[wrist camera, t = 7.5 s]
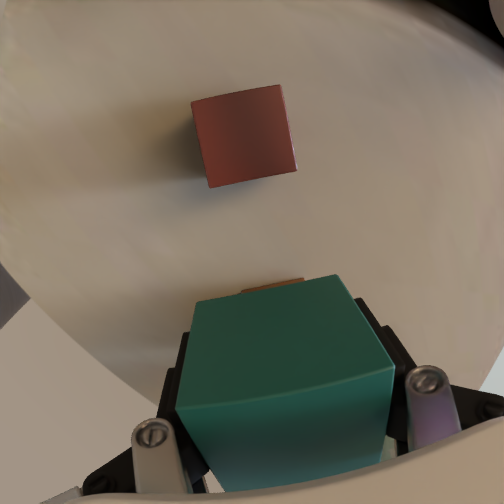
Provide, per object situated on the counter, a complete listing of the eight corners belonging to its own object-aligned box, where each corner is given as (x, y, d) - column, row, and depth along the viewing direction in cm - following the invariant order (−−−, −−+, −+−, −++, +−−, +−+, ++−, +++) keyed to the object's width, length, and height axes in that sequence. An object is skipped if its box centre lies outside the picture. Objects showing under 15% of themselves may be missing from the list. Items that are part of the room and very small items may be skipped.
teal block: (229, 398, 13) (228, 498, 8) (195, 301, 11) (173, 409, 6) (343, 375, 13) (379, 469, 8) (337, 272, 11) (396, 365, 6)
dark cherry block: (214, 177, 22) (209, 189, 18) (199, 109, 20) (189, 101, 16) (284, 163, 22) (298, 171, 17) (271, 94, 20) (281, 83, 16)
